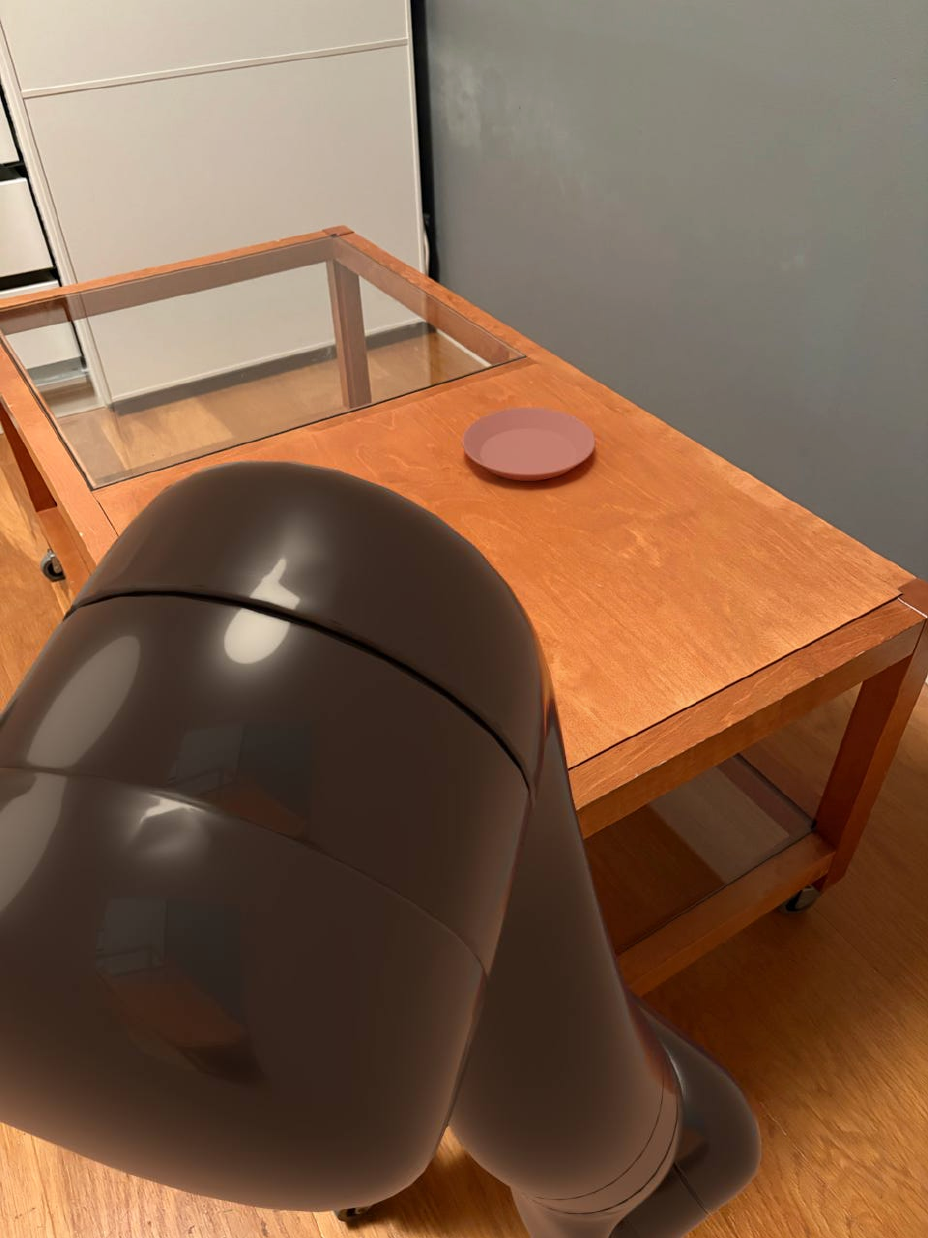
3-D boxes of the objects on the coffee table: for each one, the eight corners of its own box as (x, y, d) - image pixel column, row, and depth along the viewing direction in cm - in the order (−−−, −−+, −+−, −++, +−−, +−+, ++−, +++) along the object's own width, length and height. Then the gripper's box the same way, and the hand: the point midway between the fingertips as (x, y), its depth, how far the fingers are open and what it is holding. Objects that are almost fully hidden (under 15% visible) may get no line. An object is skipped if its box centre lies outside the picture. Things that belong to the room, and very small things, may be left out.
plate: (608, 483, 98) (609, 466, 97) (472, 496, 97) (471, 479, 96) (577, 417, 109) (578, 402, 108) (455, 428, 108) (454, 412, 107)
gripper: (566, 766, 51) (426, 595, 63) (317, 876, 46) (215, 668, 58) (560, 851, 56) (432, 678, 67) (334, 959, 51) (237, 751, 62)
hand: (332, 674), depth 62 cm, fingers closed on wooden figurine, 5 cm apart
